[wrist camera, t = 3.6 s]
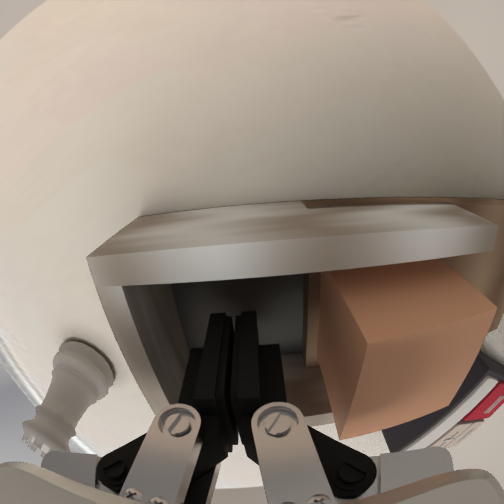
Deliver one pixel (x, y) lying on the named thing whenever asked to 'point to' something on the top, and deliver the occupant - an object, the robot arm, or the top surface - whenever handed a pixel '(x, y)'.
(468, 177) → the top surface
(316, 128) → the top surface
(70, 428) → the rook chess piece
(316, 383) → the metal sorting tray
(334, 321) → the block
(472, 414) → the calculator
